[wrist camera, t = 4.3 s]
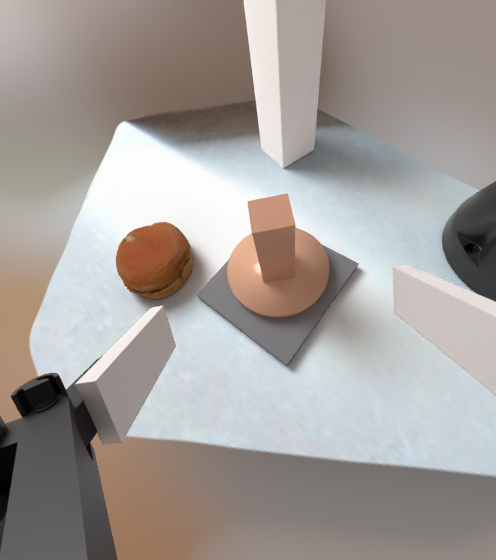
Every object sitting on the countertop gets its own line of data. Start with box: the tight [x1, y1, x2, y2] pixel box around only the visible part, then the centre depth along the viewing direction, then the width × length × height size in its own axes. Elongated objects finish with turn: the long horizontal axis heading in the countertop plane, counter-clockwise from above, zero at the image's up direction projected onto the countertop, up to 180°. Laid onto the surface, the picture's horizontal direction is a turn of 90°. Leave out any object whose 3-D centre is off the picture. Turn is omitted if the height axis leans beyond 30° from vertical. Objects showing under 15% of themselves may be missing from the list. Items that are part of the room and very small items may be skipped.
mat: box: [197, 245, 358, 366], centre depth 30 cm, size 13×14×1 cm
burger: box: [116, 222, 192, 300], centre depth 32 cm, size 10×9×5 cm
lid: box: [227, 194, 330, 318], centre depth 26 cm, size 12×12×10 cm
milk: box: [244, 0, 326, 168], centre depth 31 cm, size 6×6×22 cm
